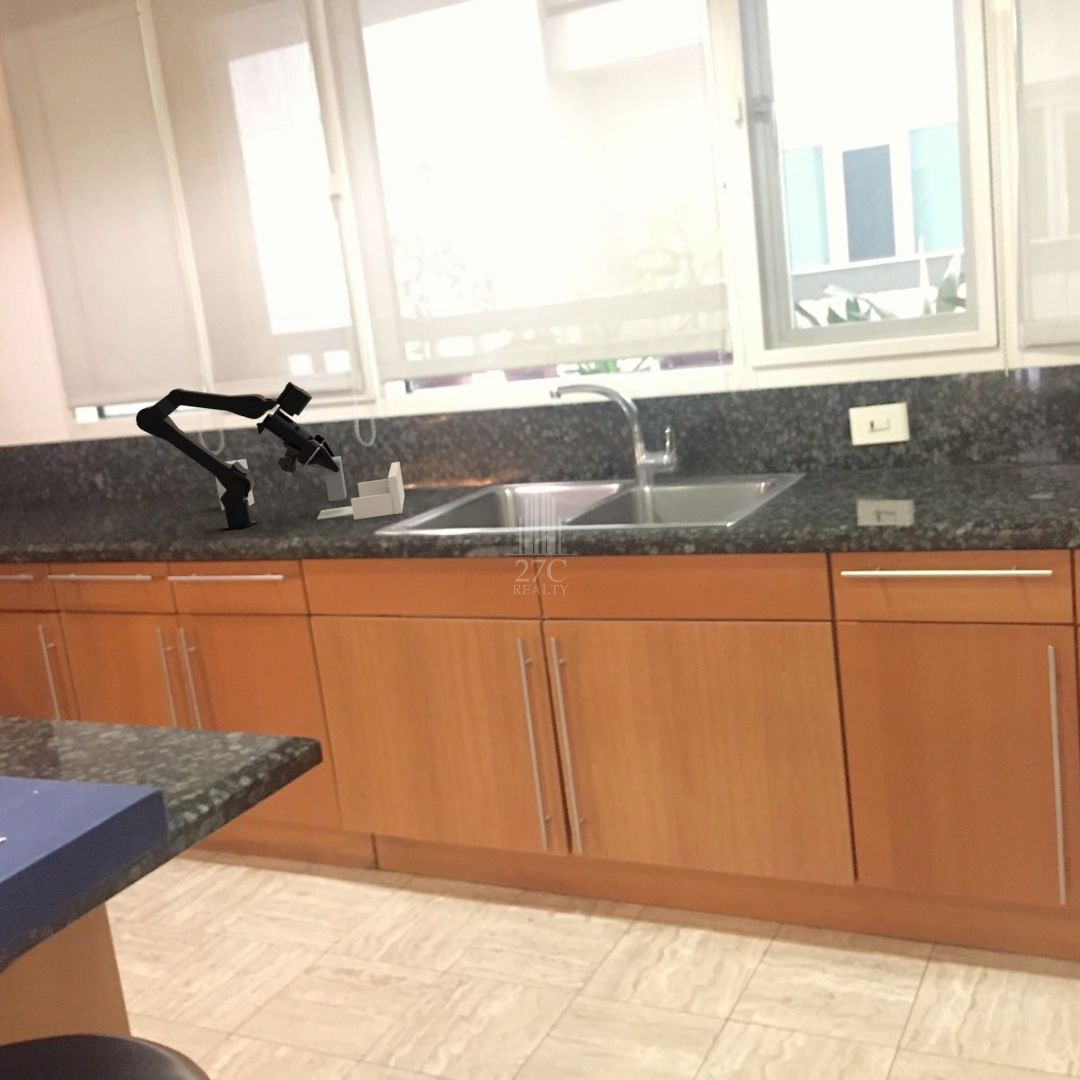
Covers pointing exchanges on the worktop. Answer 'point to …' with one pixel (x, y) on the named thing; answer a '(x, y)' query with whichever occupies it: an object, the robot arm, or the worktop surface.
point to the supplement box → (222, 490)
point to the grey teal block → (335, 481)
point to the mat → (335, 512)
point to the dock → (380, 496)
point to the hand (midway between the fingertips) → (339, 469)
